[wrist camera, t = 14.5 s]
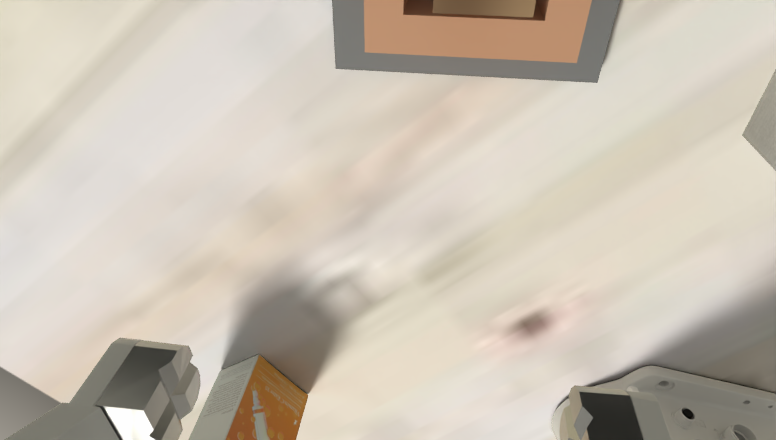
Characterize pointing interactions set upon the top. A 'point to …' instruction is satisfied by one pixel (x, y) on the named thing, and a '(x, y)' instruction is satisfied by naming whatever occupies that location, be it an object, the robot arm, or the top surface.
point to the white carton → (764, 125)
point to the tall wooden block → (486, 7)
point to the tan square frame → (474, 39)
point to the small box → (251, 405)
